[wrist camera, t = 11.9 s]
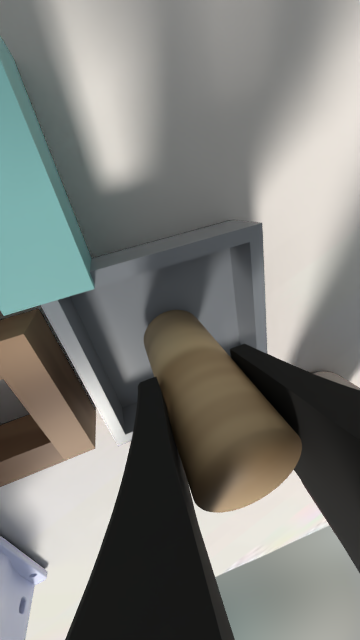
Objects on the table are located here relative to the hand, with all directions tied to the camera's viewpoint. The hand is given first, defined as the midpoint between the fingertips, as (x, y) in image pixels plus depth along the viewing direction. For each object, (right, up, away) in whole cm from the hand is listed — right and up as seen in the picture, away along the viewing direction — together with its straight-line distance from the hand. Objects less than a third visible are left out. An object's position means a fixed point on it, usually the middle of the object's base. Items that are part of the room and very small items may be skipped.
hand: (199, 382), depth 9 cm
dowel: (-1, +1, +3) cm, 3 cm away
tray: (-1, +2, +4) cm, 5 cm away
